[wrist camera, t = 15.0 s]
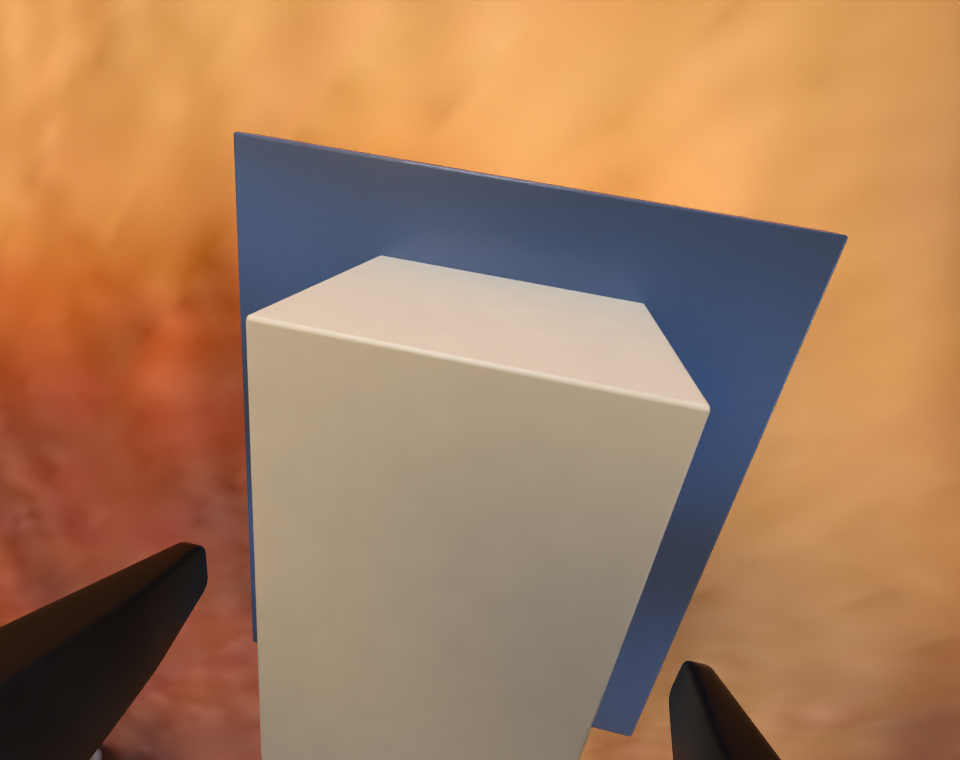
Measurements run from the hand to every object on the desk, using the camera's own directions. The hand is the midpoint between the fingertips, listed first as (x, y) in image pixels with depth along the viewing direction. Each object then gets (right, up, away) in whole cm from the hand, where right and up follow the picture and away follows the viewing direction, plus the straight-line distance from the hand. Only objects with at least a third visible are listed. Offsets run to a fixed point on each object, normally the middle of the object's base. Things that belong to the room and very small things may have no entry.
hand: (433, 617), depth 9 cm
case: (+1, +1, +3) cm, 3 cm away
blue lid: (+1, +2, +4) cm, 4 cm away
